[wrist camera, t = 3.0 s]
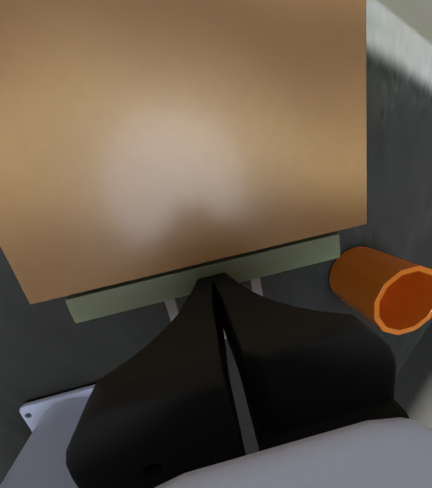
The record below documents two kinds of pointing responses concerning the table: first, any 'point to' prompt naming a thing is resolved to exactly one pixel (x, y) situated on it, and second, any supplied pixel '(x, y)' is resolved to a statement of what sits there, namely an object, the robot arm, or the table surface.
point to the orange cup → (383, 288)
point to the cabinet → (174, 133)
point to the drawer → (185, 278)
